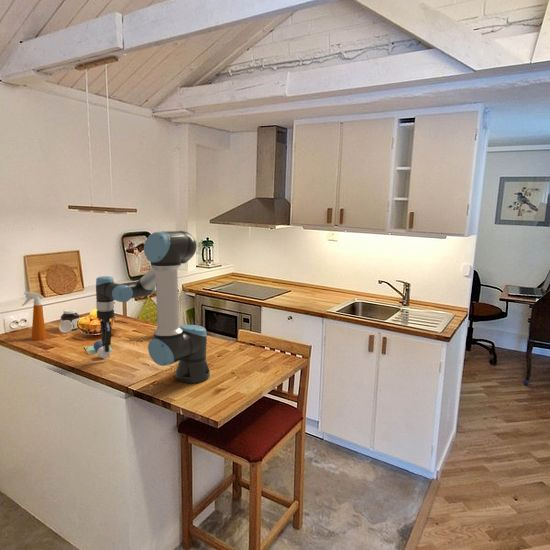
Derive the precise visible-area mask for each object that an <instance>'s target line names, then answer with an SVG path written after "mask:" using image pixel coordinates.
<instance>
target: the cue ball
mask: <svg viewBox="0 0 550 550" xmlns="http://www.w3.org/2000/svg"><path fill="white" fill-rule="evenodd" d="M96 355H97V357H98V358H100V359H104V358H103V347H100V348H99V349H98V351H97V354H96Z"/></svg>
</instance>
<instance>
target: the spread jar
mask: <svg viewBox="0 0 550 550" xmlns="http://www.w3.org/2000/svg"><path fill="white" fill-rule="evenodd" d="M79 319H80V320H81V317H80V314H79V313H77V309H76V308H67V309H63V314H61V316H60V324H59V325H58V329H59V331H60V332H61V333H64V334H68V333H70V332H74V331H76V330H79V328H78V327H77V321H78V320H79Z"/></svg>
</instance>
